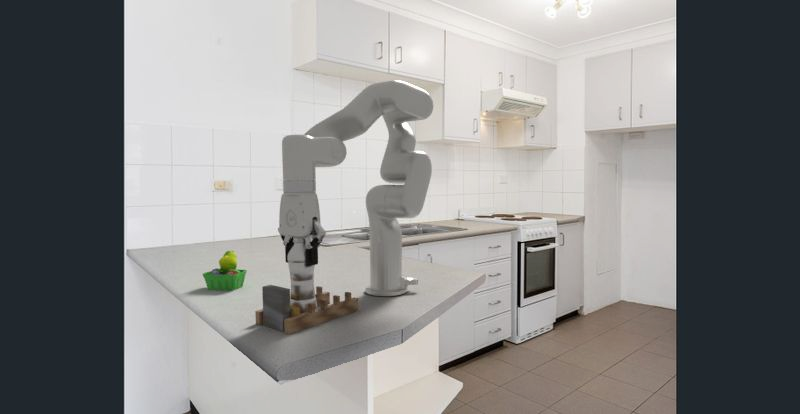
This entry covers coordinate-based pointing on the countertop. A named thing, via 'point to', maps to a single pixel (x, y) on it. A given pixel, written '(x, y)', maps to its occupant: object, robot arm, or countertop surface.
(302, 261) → the grey bulging hollow cylinder
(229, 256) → the fruit basket
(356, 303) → the wooden peg rack
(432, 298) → the countertop surface
